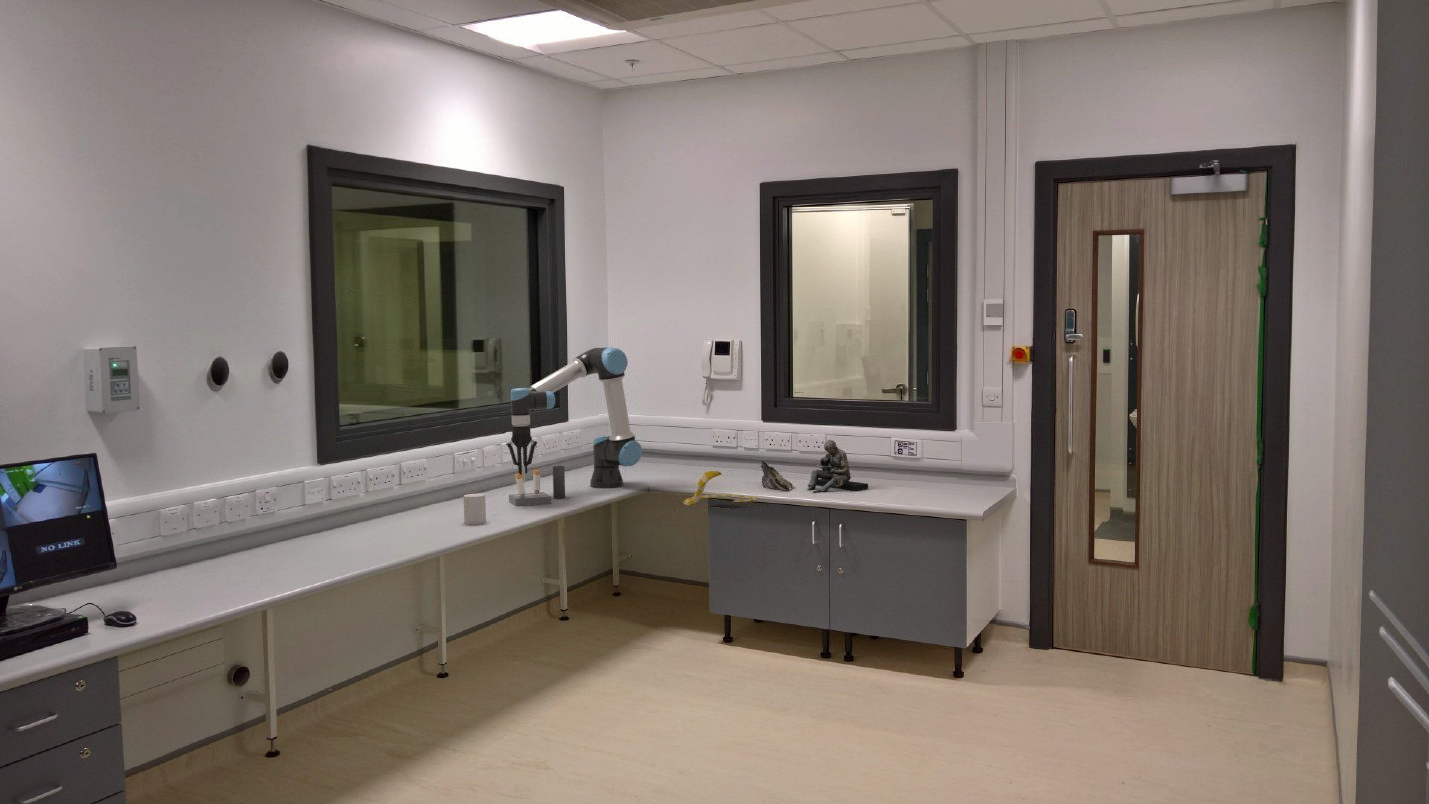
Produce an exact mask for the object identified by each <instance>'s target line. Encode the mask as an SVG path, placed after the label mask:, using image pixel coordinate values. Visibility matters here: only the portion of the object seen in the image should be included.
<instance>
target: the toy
mask: <svg viewBox="0 0 1429 804" xmlns="http://www.w3.org/2000/svg"><path fill="white" fill-rule="evenodd" d="M722 474H723V473H722V472H720V471H718V470H707V471H705V472H704V473H702V476H700V478H699V481H698V482H697V490H696V491H695V493H694V495H693V496H692V497H688V498H686V499H685V500H683V502H682V504H683V505H686V506H694V505H696V504H697V503H698V502H699V500H700V499H708V498H715V497H716V498H717V497H718V498H719V497H733V498H735V497H737V498H747V499H738V500H736V499H735V500H732V502H734V503H735V502H736V503H741V502H742V503H743V502H746V503H747V502H753V501H757V500H758V497H756V496H750V495H739V494H707V495H702V494H703V493H704V490H705V487H706V485H707V483H708V482H709V481H710V480H713V479H714V478H716V477H719V476H721V475H722Z"/></svg>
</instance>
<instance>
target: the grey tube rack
mask: <svg viewBox="0 0 1429 804" xmlns="http://www.w3.org/2000/svg"><path fill="white" fill-rule="evenodd" d="M508 502H509V503H511V505H513V506H515V507H520V506H521V507H522V506H534V505H535V506H536V505H538V506H539V505H547V504H550V505H551V504H552V496H551V495H549V494H547V493H546V492H544V491H543V492H539V493H535V492H530V493H526V492H525V497H523V498H522V497H521V496H520V494H519V493H515V494H514V493H513V494H508Z"/></svg>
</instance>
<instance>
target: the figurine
mask: <svg viewBox="0 0 1429 804" xmlns="http://www.w3.org/2000/svg"><path fill="white" fill-rule="evenodd" d="M823 448H824V451H825V452H826V453H825V455H824V456H822V457H821V458H820V464H819V463H817V464H816V467H817V468H819V469H813V470H812V472H811V475H810V480H809V482H808V484H807V487H808V488H807V489H806V491H807V492H809V491H812V494H819V493H827V492H828V491H829V490H830V489H838V490H845V491H851V492H860V491H866V490H869V483H868V482H867V483H865V482H858V481H851V478H852V476H851V473H850V465H849V461H848V456H847V453H846V452H845V451H844V450H843V449H841V448H839V447H838V446H837V443H836V441H835V440H832V439H828V440H827V441H826V442H825V443H824V445H823ZM817 486H819V488H818V489H816V488H817Z"/></svg>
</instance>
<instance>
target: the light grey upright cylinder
mask: <svg viewBox="0 0 1429 804" xmlns="http://www.w3.org/2000/svg"><path fill="white" fill-rule="evenodd" d="M486 506H487V505H486V494H485V493H469V494H464V495H463V519H464V524H466V525H479V524H484V523H486V522H487V513H486V512H487V511H486Z"/></svg>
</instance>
